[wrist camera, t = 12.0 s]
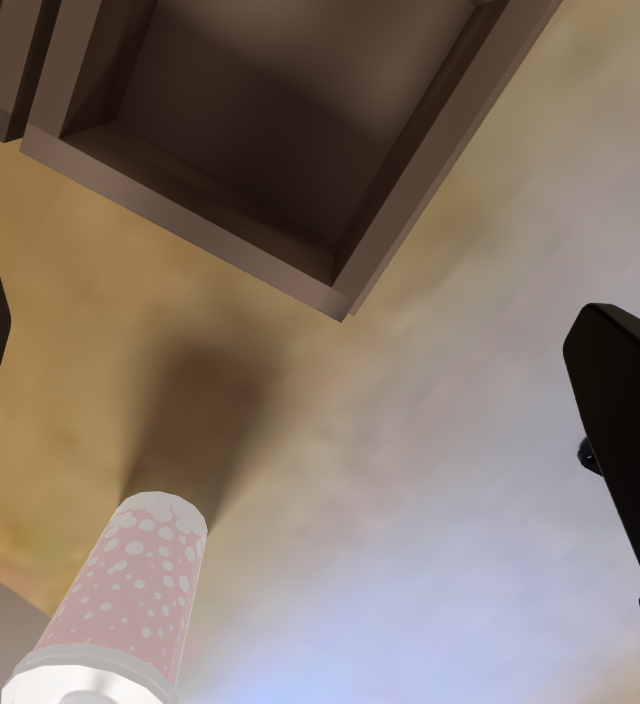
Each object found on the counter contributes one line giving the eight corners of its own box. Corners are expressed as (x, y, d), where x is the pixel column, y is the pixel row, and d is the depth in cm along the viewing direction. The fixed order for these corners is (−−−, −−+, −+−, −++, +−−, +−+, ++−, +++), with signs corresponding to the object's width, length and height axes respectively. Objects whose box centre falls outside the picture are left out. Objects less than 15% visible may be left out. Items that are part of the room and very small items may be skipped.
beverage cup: (93, 472, 26) (-131, 848, 14) (223, 485, 26) (115, 872, 14) (104, 563, 29) (-71, 940, 17) (222, 574, 29) (132, 959, 17)
